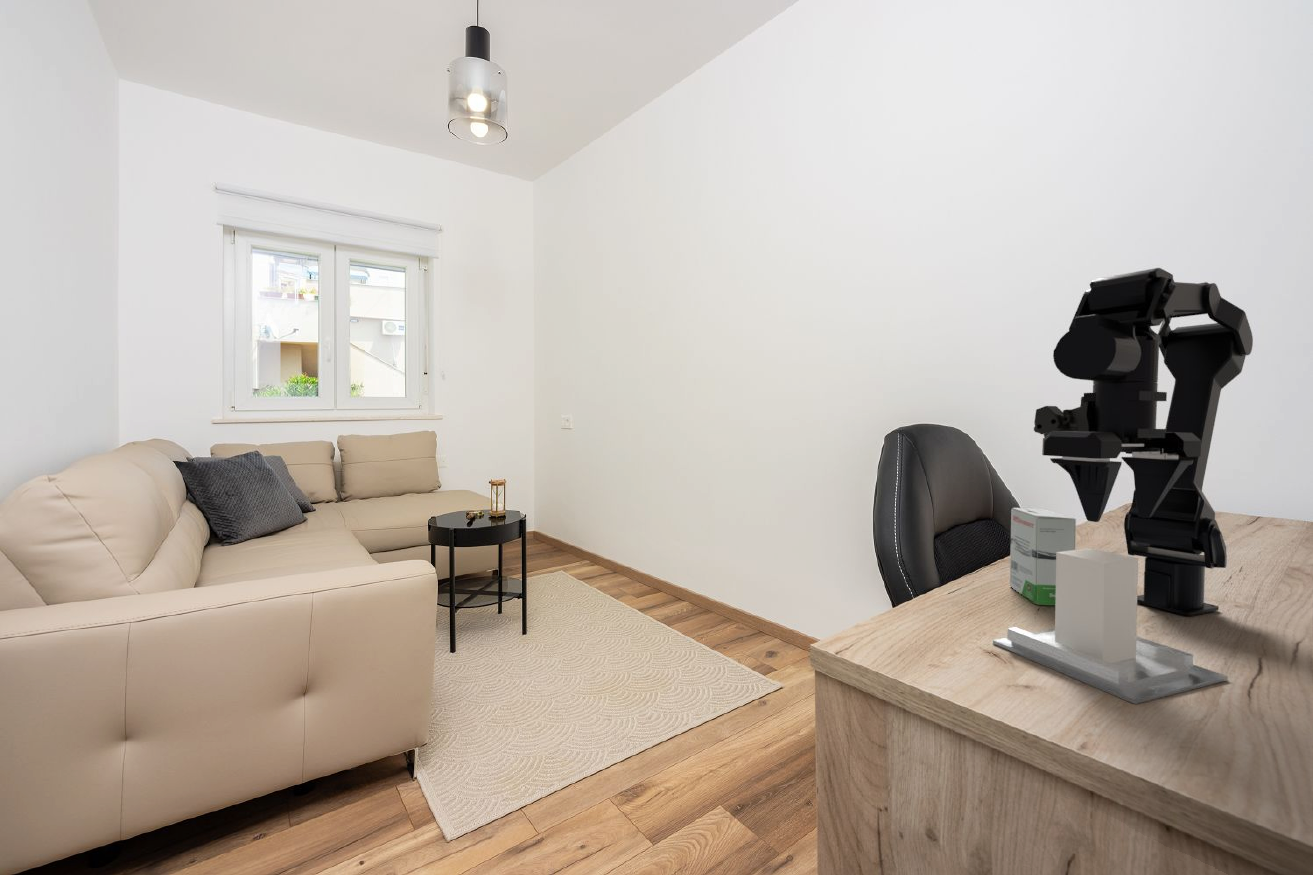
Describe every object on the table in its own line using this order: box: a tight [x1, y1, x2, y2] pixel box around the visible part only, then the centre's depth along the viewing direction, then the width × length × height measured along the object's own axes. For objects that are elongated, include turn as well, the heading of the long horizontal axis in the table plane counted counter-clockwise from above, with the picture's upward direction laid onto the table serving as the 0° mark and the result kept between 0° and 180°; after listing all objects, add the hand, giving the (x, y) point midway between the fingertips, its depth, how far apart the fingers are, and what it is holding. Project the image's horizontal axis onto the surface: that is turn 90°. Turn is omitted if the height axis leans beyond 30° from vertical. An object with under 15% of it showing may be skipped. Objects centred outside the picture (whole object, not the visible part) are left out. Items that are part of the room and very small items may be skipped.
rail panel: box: [992, 626, 1229, 705], centre depth 58 cm, size 13×14×2 cm
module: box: [1054, 547, 1139, 663], centre depth 58 cm, size 5×5×10 cm
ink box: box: [1009, 507, 1077, 606], centre depth 78 cm, size 9×5×12 cm, turn 168°
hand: (1119, 519), depth 65 cm, fingers open, 9 cm apart
